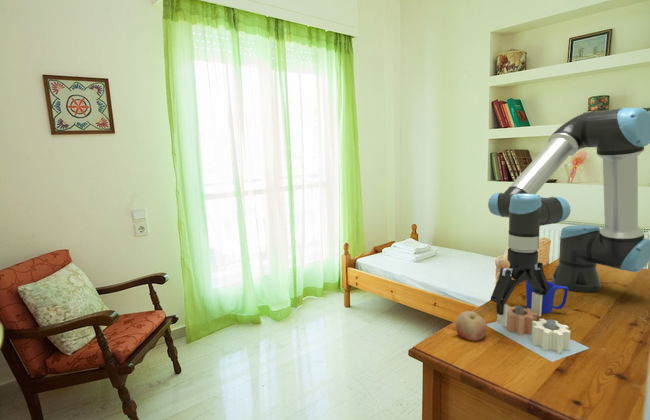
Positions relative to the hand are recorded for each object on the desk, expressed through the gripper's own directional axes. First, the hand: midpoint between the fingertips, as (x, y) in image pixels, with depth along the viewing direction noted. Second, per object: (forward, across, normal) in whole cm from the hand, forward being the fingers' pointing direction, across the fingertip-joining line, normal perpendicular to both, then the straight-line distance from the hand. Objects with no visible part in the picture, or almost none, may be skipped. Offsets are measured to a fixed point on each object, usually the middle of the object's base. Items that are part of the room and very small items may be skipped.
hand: (519, 319), depth 103 cm
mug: (+4, -18, -5) cm, 19 cm away
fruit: (+4, +15, -3) cm, 16 cm away
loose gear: (+3, 0, 0) cm, 3 cm away
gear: (+3, 0, +10) cm, 10 cm away
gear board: (+4, 0, +5) cm, 6 cm away
